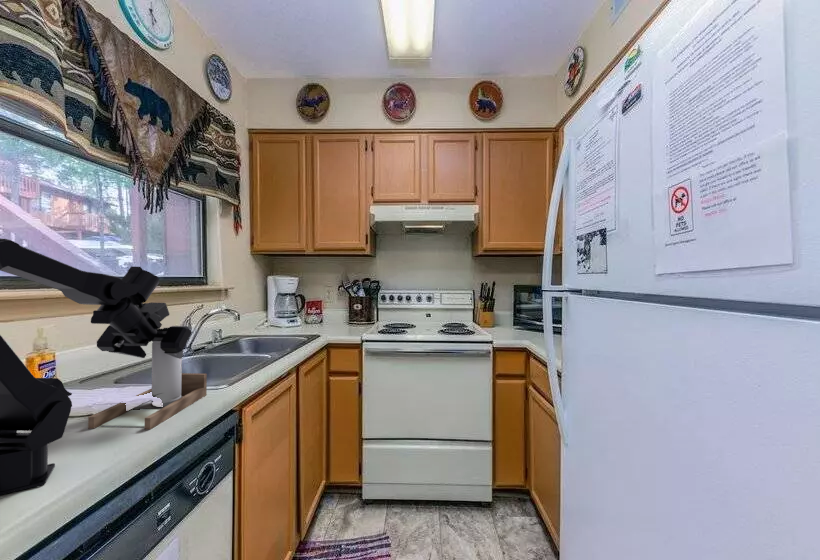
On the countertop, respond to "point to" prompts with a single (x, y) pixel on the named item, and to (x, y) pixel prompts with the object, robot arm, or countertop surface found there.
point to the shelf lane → (149, 418)
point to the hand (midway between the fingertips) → (163, 356)
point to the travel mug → (165, 374)
